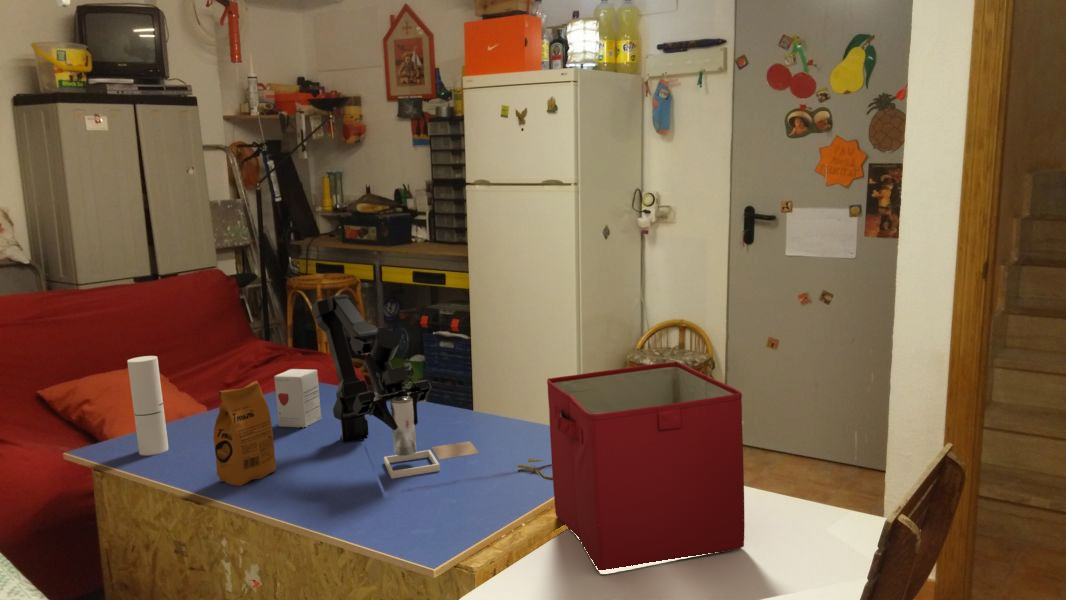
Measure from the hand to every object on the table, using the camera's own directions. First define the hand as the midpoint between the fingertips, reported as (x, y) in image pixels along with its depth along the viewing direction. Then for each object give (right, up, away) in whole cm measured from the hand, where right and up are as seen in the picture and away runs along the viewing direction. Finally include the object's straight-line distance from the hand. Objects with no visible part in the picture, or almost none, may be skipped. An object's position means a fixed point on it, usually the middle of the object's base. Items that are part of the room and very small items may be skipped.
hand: (405, 426), depth 194 cm
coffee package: (-38, -12, +3) cm, 40 cm away
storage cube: (+51, -14, -39) cm, 66 cm away
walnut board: (+11, -8, +11) cm, 17 cm away
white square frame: (+1, -10, 0) cm, 11 cm away
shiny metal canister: (0, -6, +2) cm, 7 cm away
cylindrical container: (-71, -11, +26) cm, 76 cm away
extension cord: (+35, -10, -3) cm, 37 cm away
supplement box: (-37, -6, +44) cm, 58 cm away
